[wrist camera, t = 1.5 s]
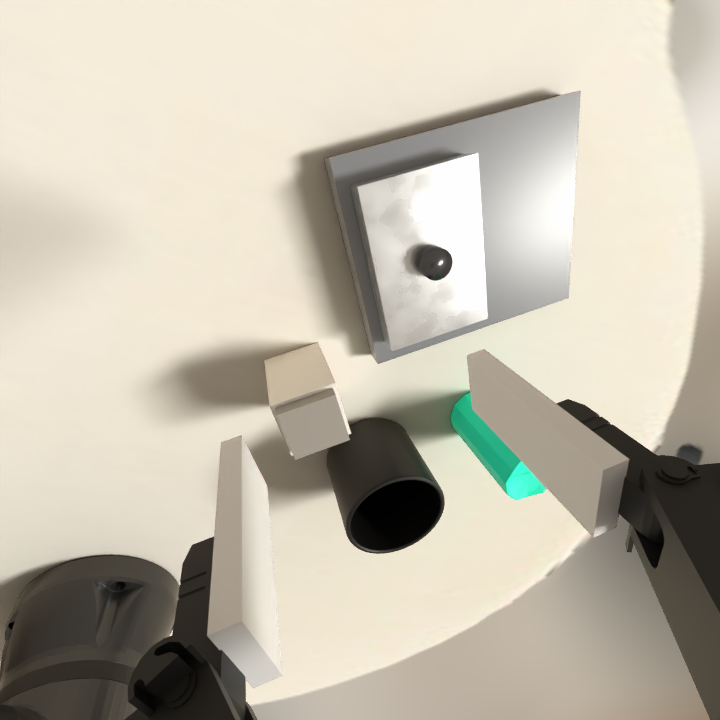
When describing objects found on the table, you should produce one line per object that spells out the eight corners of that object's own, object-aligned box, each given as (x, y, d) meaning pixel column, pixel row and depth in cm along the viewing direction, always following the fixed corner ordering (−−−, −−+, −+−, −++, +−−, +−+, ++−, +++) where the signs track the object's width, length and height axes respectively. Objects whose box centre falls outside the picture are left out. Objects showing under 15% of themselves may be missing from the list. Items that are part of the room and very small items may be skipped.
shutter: (384, 342, 34) (397, 357, 31) (350, 185, 27) (362, 187, 25) (475, 310, 35) (495, 323, 32) (463, 153, 28) (487, 152, 26)
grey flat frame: (371, 354, 36) (378, 364, 35) (323, 158, 28) (329, 158, 26) (554, 291, 39) (568, 297, 37) (561, 94, 30) (580, 90, 29)
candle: (440, 426, 43) (503, 508, 33) (468, 382, 41) (544, 454, 31) (478, 438, 46) (548, 517, 35) (506, 397, 44) (588, 468, 34)
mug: (397, 496, 46) (428, 563, 39) (310, 474, 41) (326, 546, 33) (440, 436, 44) (483, 495, 36) (353, 405, 39) (382, 465, 31)
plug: (282, 404, 36) (292, 464, 29) (264, 360, 34) (270, 413, 26) (332, 386, 37) (354, 441, 30) (318, 342, 34) (338, 389, 27)
